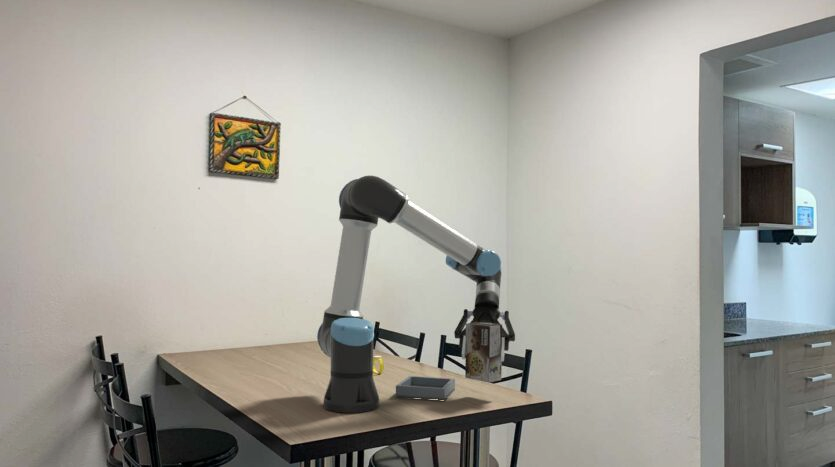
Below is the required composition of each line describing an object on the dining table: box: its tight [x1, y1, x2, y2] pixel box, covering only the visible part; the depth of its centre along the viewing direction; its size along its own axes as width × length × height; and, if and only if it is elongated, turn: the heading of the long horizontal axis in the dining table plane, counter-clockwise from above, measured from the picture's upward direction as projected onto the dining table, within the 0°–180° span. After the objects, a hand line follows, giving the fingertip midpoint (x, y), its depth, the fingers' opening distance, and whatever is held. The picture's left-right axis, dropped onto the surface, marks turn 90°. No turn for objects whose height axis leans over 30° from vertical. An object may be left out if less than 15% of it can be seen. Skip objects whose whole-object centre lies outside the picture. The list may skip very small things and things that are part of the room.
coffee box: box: [464, 322, 503, 383], centre depth 179 cm, size 9×6×16 cm
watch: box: [373, 355, 384, 375], centre depth 214 cm, size 6×3×6 cm, turn 37°
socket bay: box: [395, 375, 456, 401], centre depth 183 cm, size 14×14×4 cm
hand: (482, 357), depth 176 cm, fingers closed on coffee box, 11 cm apart
